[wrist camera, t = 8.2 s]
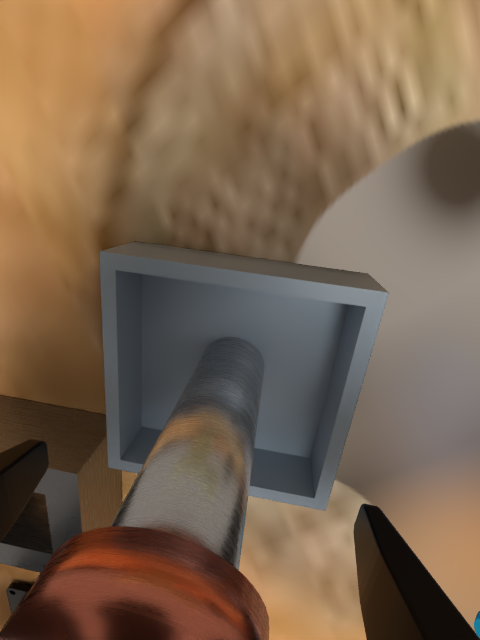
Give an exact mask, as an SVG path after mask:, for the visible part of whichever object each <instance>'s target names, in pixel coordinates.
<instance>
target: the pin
mask: <svg viewBox="0 0 480 640" xmlns="http://www.w3.org/2000/svg"><path fill="white" fill-rule="evenodd" d="M264 369H265V366H264V360H263V357H262V355H261V353H260V352H259V350H258V349H257V348H256V347H255V346H254V345H253V344H251V343H250V342H248V341H246V340H244V339H241V338H237V337H224V338H220V339H218V340H216V341H214V342H212V343H211V344H210V345H209V346H208V347H207V348H206V350H205V351H204V353H203V355H202V357H201V359H200V361H199V363H198V364H197V366H196V368H195V370H194V372H193V374H192V376H191V377H190V379H189V381H188V383H187V385H186V387H185V389H184V390H183V392H182V394H181V396H180V398H179V400H178V402H177V403H176V405H175V407H174V409H173V411H172V413H171V415H170V416H169V418H168V420H167V422H166V424H165V426H164V428H163V429H162V431H161V433H160V435H159V437H158V439H157V441H156V442H155V444H154V446H153V448H152V450H151V452H150V454H149V455H148V457H147V459H146V461H145V463H144V465H143V467H142V468H141V470H140V472H139V474H138V476H137V478H136V480H135V481H134V483H133V485H132V487H131V489H130V491H129V493H128V494H127V496H126V498H125V500H124V502H123V504H122V506H121V507H120V509H119V511H118V513H117V515H116V517H115V519H114V520H113V522H112V524H111V526H110V527H104V528H97V529H93V530H89V531H86V532H82V533H80V534H78V535H76V536H74V537H72V538H70V539H69V540H67V541H66V542H64V543H63V544H62V545H61V546H60V547H59V548H58V549H57V550H56V551H55V552H54V554H53V556H52V557H51V559H50V560H49V562H48V563H47V565H46V566H45V568H44V569H43V571H42V572H41V574H40V575H39V577H38V578H37V580H36V581H35V583H34V584H33V586H32V588H31V589H30V591H29V592H28V594H27V595H26V597H25V598H24V600H23V601H22V603H21V604H20V606H19V607H18V609H17V610H16V612H15V613H14V615H13V616H12V618H11V619H10V621H9V623H8V624H7V626H6V627H5V629H4V630H3V632H2V633H1V635H0V640H269V617H268V614H267V610H266V607H265V605H264V603H263V601H262V599H261V597H260V595H259V594H258V592H257V591H256V589H255V588H254V586H253V585H252V584H251V583H250V582H249V581H248V579H247V578H246V577H245V576H244V575H243V574H242V573H241V572H240V571H239V563H240V555H241V548H242V540H243V532H244V524H245V517H246V509H247V501H248V493H249V486H250V478H251V470H252V463H253V455H254V447H255V439H256V432H257V424H258V416H259V408H260V401H261V393H262V385H263V377H264Z"/></svg>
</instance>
